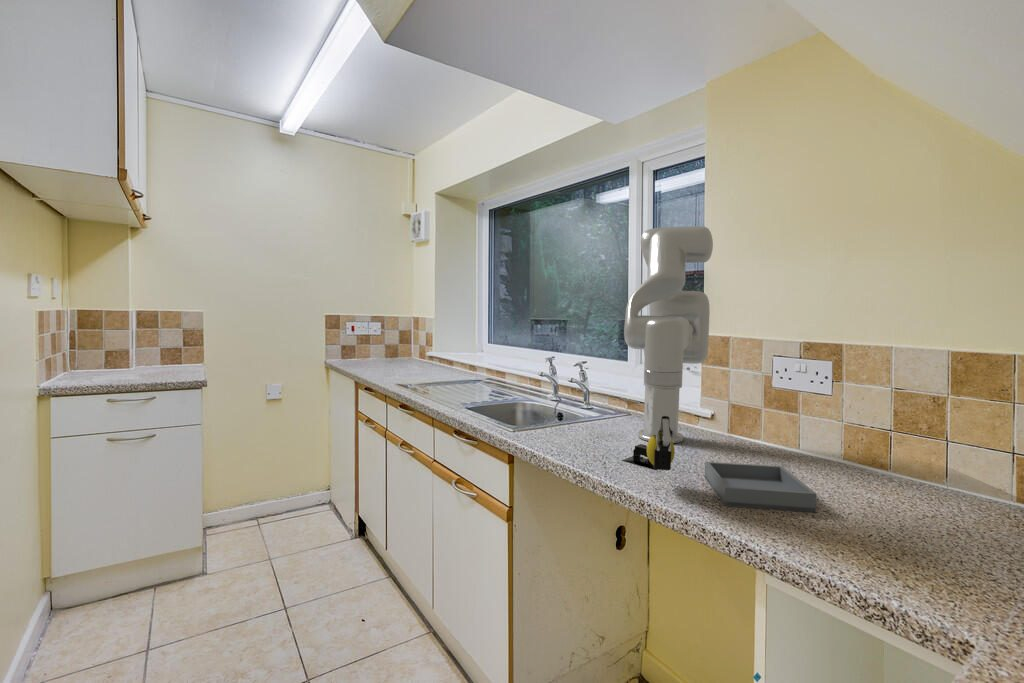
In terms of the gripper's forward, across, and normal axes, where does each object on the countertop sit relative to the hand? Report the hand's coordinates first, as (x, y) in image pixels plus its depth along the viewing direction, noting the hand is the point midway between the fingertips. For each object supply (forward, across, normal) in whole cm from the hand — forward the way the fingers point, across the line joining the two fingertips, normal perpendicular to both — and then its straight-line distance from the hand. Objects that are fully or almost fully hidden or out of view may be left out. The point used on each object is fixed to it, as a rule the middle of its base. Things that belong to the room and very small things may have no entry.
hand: (660, 463), depth 101 cm
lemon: (+2, 0, 0) cm, 2 cm away
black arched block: (+6, -16, -2) cm, 17 cm away
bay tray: (+5, 0, +19) cm, 20 cm away
